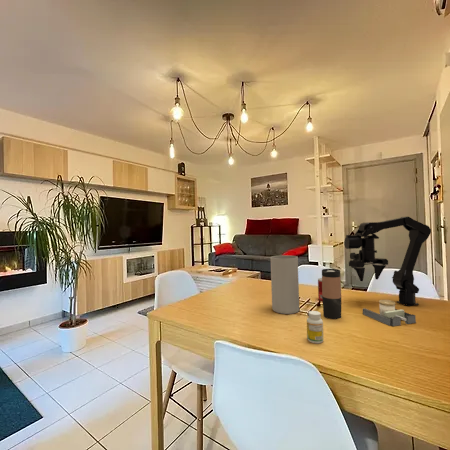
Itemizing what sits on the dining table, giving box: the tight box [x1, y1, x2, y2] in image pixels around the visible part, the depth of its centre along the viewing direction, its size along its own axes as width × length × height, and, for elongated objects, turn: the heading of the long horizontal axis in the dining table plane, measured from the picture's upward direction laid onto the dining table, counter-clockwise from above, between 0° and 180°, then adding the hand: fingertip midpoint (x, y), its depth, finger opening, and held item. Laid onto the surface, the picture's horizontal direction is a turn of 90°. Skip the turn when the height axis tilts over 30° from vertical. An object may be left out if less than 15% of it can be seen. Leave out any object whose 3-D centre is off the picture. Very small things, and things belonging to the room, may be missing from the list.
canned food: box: [317, 277, 323, 303], centre depth 135 cm, size 8×8×11 cm
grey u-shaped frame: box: [362, 307, 417, 327], centre depth 108 cm, size 12×15×3 cm
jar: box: [378, 299, 396, 316], centre depth 108 cm, size 6×6×7 cm
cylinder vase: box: [270, 255, 300, 315], centre depth 122 cm, size 12×12×25 cm
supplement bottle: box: [306, 310, 324, 344], centre depth 90 cm, size 5×5×10 cm
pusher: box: [384, 309, 407, 322], centre depth 103 cm, size 9×6×4 cm, turn 104°
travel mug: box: [321, 268, 342, 320], centre depth 112 cm, size 8×8×20 cm
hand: (369, 280), depth 126 cm, fingers open, 9 cm apart
